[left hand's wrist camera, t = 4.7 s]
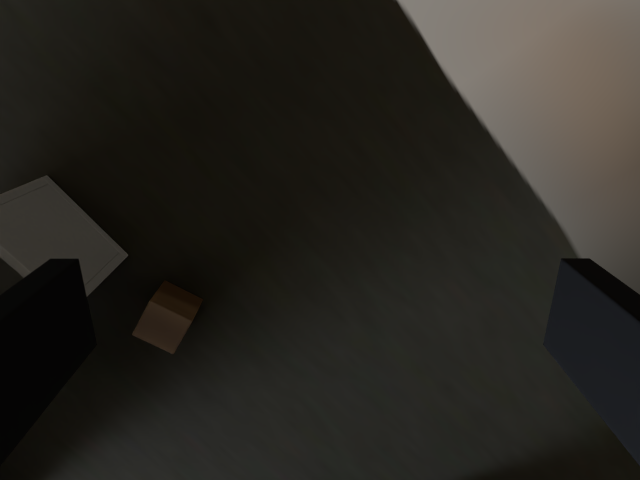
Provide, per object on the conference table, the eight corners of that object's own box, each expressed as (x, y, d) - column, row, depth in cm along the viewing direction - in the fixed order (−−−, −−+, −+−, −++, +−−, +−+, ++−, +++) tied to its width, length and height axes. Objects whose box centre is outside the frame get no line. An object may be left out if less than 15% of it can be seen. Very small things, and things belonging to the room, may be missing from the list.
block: (164, 279, 43) (149, 300, 40) (203, 299, 44) (192, 321, 40) (147, 311, 45) (131, 335, 41) (185, 330, 45) (173, 354, 42)
